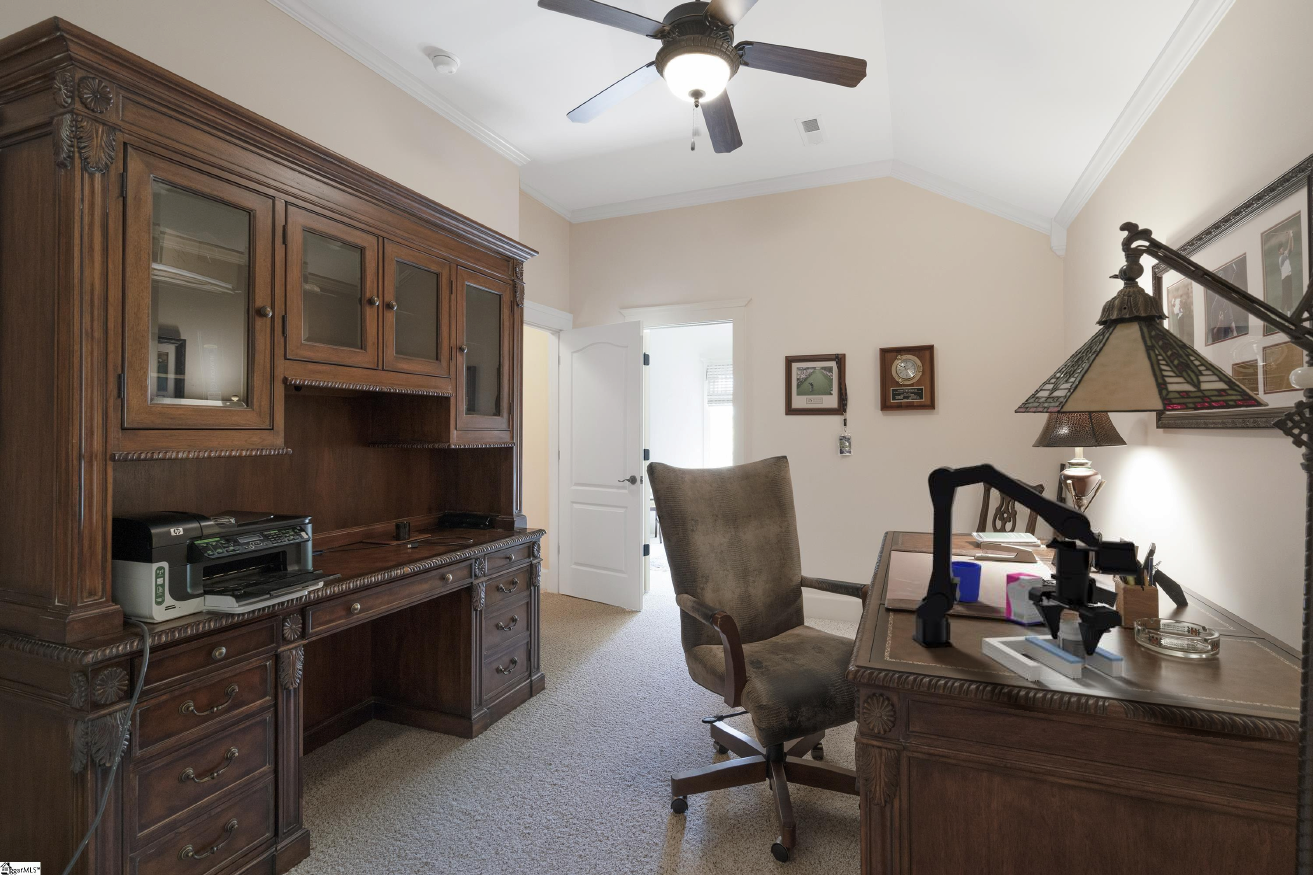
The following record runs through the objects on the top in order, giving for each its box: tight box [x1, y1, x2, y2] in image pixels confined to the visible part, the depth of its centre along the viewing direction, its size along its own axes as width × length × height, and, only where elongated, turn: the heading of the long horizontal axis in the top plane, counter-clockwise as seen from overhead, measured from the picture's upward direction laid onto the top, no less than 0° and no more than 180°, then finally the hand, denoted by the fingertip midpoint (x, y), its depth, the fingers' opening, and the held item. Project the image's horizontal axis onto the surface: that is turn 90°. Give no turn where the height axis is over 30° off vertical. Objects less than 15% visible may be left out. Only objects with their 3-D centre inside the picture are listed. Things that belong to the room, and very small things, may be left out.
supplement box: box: [1005, 572, 1043, 627], centre depth 153 cm, size 6×6×12 cm
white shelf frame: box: [981, 634, 1124, 682], centre depth 127 cm, size 19×15×4 cm
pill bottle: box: [1058, 620, 1086, 669], centre depth 126 cm, size 5×5×8 cm
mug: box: [952, 560, 982, 603], centre depth 171 cm, size 8×12×10 cm
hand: (1071, 646), depth 126 cm, fingers open, 9 cm apart
